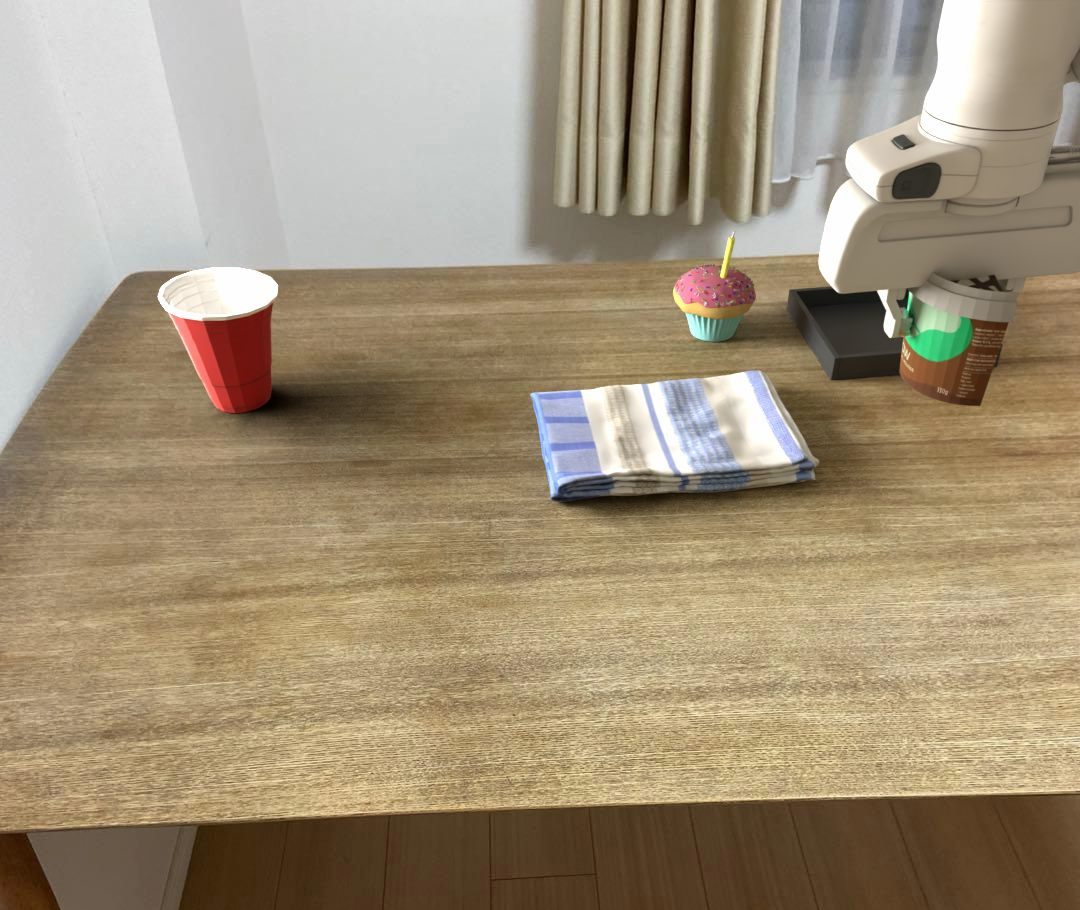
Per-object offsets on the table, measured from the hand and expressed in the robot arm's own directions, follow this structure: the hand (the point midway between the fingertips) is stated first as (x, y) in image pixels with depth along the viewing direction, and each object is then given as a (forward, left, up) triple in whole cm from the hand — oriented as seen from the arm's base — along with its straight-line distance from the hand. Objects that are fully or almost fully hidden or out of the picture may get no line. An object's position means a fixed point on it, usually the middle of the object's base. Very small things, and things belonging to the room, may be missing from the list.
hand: (938, 330), depth 80 cm
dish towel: (+19, -8, -14) cm, 25 cm away
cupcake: (+10, -28, -14) cm, 33 cm away
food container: (0, 0, -4) cm, 4 cm away
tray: (-8, -24, -14) cm, 29 cm away
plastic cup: (+59, -22, -14) cm, 65 cm away
